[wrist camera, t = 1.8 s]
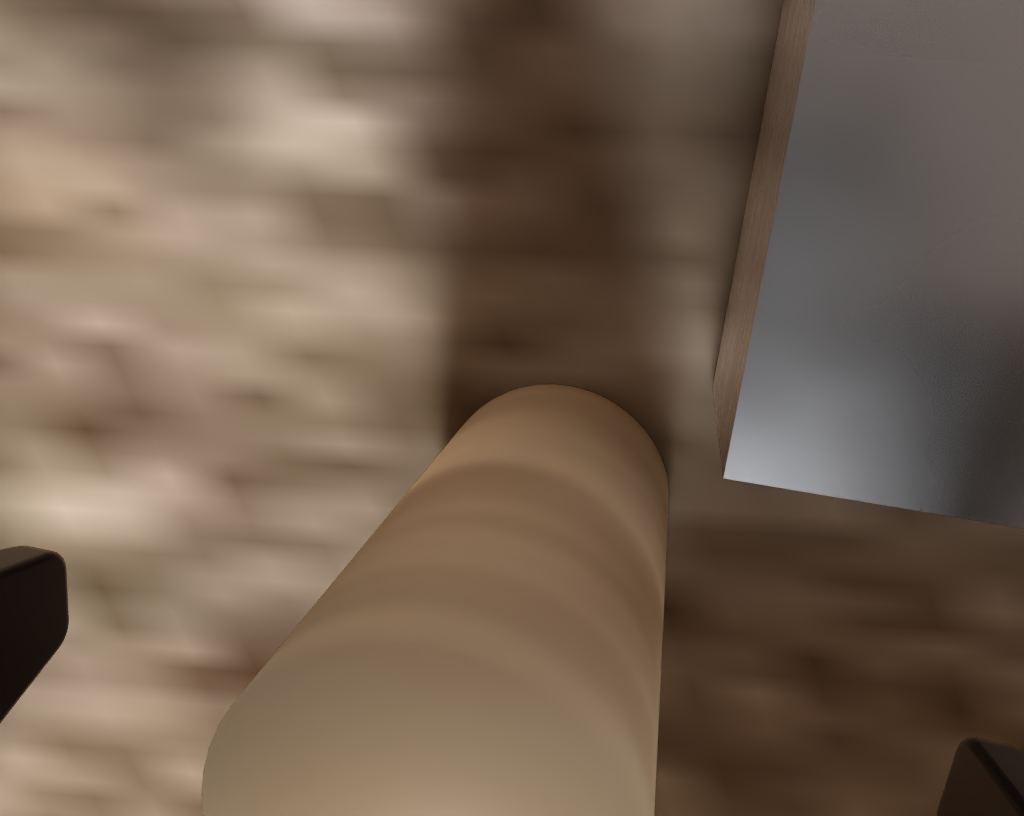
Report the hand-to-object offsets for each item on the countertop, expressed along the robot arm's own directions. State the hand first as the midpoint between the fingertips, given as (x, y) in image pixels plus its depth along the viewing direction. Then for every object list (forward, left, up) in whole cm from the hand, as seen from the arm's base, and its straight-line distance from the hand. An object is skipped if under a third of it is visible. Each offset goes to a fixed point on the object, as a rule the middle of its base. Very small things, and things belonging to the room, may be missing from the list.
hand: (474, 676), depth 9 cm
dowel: (0, 0, -5) cm, 5 cm away
